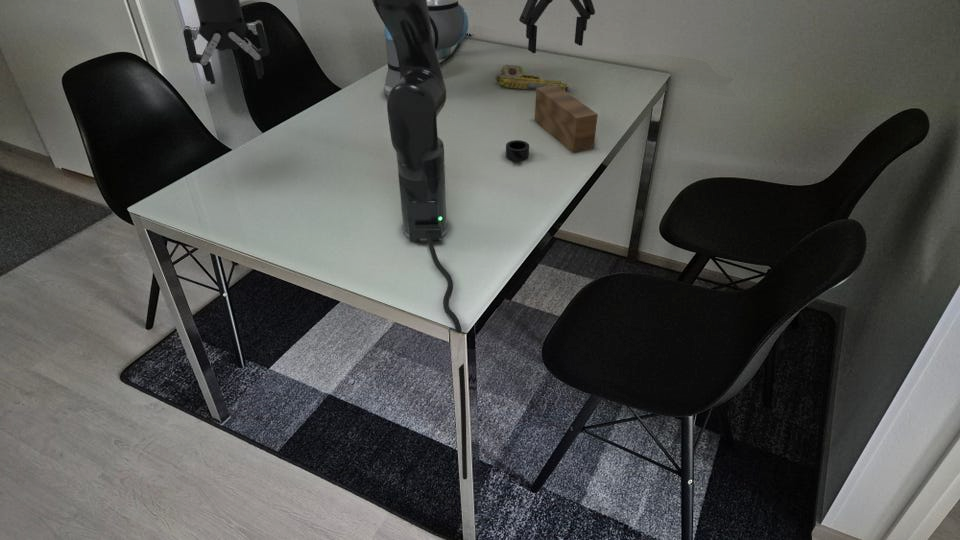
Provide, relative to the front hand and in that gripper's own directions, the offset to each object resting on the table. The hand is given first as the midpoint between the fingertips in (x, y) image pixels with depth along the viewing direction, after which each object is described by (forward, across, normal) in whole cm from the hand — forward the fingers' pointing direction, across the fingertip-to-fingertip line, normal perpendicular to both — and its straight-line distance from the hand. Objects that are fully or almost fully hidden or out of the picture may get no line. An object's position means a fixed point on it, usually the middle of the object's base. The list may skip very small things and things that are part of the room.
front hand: (236, 80), depth 121 cm
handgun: (+29, -82, -52) cm, 102 cm away
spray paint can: (+29, -61, -85) cm, 109 cm away
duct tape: (+29, -61, -7) cm, 68 cm away
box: (+29, -77, -16) cm, 84 cm away
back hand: (+8, -76, -23) cm, 80 cm away
